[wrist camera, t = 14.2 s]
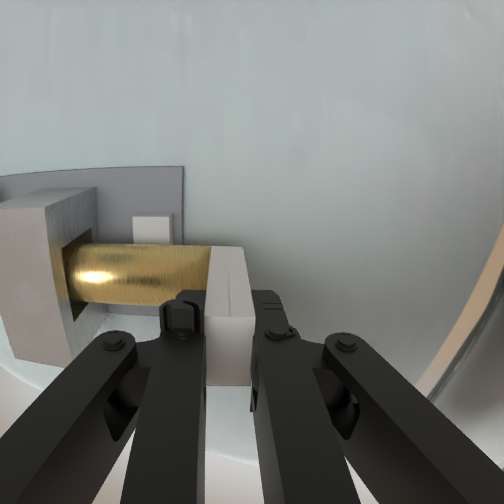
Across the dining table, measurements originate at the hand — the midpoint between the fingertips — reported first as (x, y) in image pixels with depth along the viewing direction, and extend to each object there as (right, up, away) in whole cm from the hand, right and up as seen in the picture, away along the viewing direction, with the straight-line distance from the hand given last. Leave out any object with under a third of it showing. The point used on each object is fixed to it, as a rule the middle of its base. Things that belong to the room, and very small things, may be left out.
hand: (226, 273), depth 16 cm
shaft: (-7, 0, +1) cm, 7 cm away
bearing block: (-10, +1, +2) cm, 10 cm away
